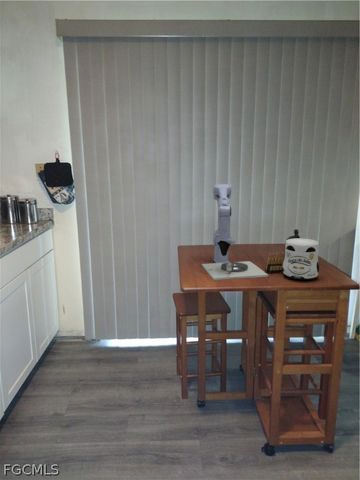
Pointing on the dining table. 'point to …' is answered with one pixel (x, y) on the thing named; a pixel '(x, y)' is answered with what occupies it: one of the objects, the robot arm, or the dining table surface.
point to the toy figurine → (294, 235)
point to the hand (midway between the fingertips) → (224, 255)
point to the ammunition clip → (275, 263)
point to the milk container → (301, 259)
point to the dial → (234, 267)
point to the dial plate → (220, 274)
